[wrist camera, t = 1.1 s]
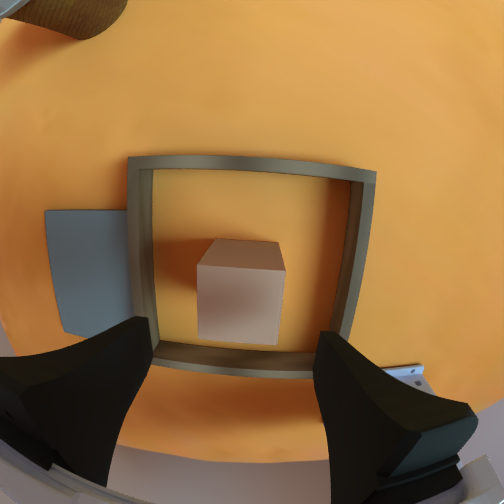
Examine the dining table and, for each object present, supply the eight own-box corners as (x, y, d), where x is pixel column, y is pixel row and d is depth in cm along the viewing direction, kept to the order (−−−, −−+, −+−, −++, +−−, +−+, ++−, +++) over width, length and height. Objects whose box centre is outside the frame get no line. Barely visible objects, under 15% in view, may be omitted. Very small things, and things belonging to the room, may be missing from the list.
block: (278, 242, 19) (285, 270, 13) (273, 299, 20) (276, 345, 15) (215, 238, 19) (196, 264, 13) (214, 295, 20) (198, 338, 15)
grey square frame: (362, 171, 18) (376, 171, 15) (330, 359, 22) (336, 378, 19) (143, 158, 18) (128, 156, 15) (152, 346, 22) (142, 362, 20)
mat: (137, 210, 19) (134, 211, 18) (148, 347, 22) (146, 351, 21) (48, 209, 19) (44, 210, 18) (67, 328, 22) (64, 331, 22)
